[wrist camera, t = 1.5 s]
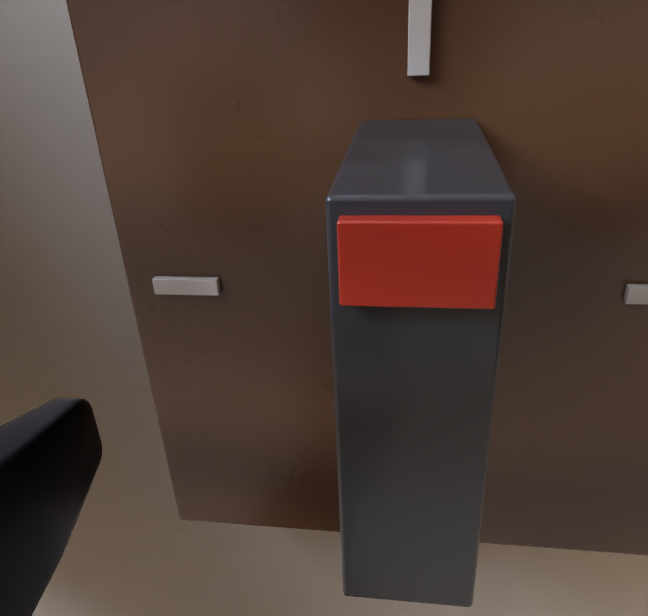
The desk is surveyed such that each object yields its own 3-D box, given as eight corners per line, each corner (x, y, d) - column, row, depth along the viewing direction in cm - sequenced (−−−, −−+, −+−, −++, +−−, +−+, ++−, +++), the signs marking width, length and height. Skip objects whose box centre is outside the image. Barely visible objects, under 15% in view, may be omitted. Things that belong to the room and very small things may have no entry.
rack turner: (454, 423, 13) (473, 623, 9) (364, 418, 13) (340, 611, 9) (476, 117, 10) (521, 203, 6) (359, 120, 10) (321, 203, 6)
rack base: (621, 468, 17) (662, 563, 14) (213, 445, 18) (177, 525, 16) (772, -145, 10) (905, -198, 7) (121, -94, 12) (32, -122, 9)
